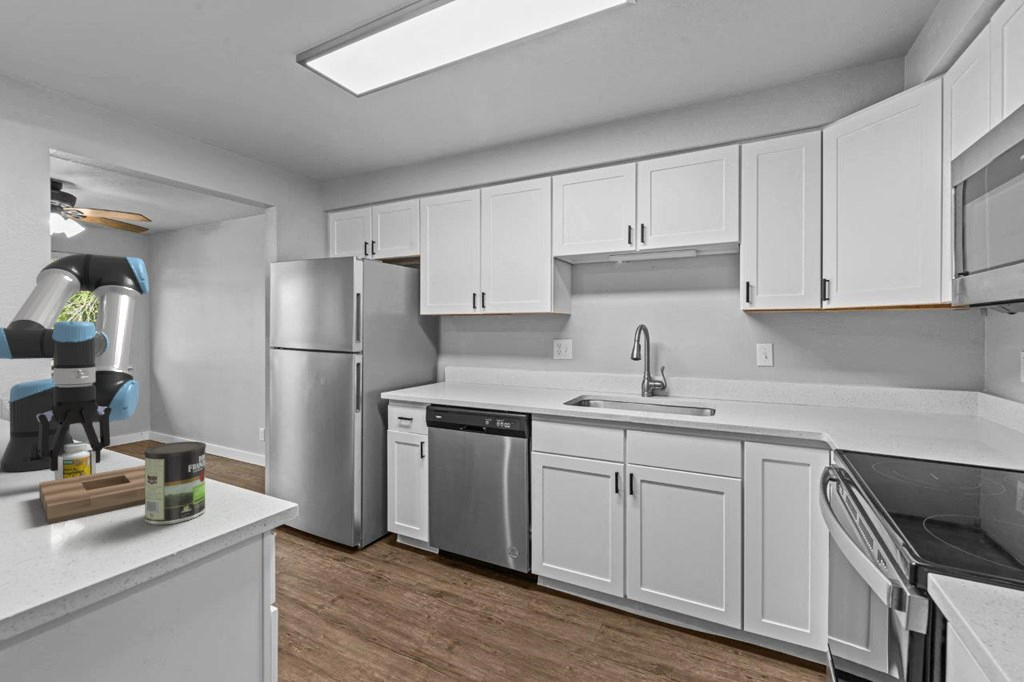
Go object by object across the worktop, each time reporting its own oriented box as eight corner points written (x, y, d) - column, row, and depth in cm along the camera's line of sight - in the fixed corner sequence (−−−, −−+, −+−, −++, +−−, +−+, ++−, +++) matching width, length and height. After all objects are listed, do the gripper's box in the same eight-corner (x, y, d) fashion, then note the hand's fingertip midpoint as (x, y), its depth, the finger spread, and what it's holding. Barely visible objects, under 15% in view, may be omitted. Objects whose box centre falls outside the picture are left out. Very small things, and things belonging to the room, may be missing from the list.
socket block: (39, 498, 105) (39, 482, 105) (150, 478, 120) (150, 464, 120) (47, 524, 92) (47, 506, 91) (172, 497, 107) (171, 482, 106)
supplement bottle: (92, 478, 119) (92, 440, 118) (88, 484, 114) (88, 445, 114) (63, 481, 116) (63, 443, 115) (57, 488, 111) (57, 447, 111)
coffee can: (214, 504, 103) (214, 440, 103) (190, 524, 93) (190, 452, 93) (162, 506, 101) (162, 441, 101) (132, 526, 91) (131, 454, 91)
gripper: (26, 390, 105) (27, 494, 105) (127, 382, 120) (128, 473, 121) (16, 387, 108) (17, 487, 109) (115, 380, 124) (116, 468, 125)
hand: (75, 479), depth 115 cm, fingers closed on supplement bottle, 5 cm apart
